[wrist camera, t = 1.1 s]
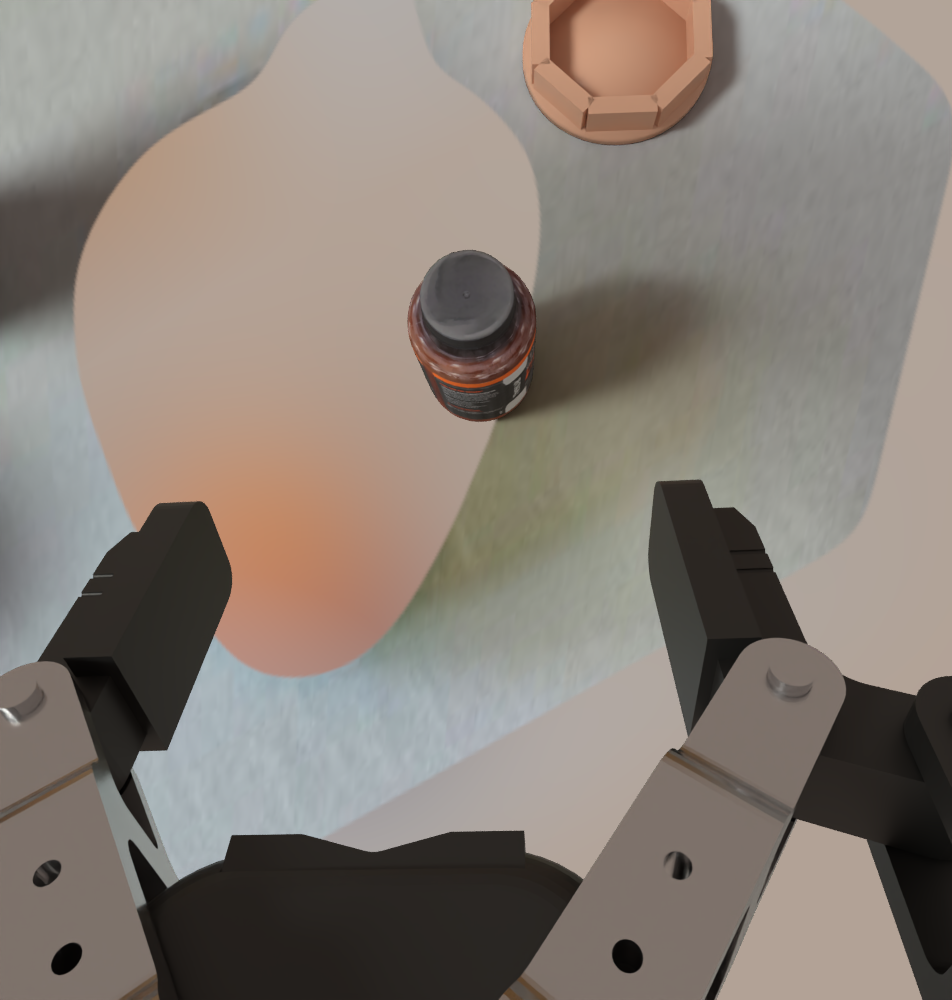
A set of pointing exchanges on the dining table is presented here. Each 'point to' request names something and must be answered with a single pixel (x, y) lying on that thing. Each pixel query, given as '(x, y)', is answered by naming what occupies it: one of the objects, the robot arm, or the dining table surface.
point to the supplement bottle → (474, 335)
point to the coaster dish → (617, 65)
